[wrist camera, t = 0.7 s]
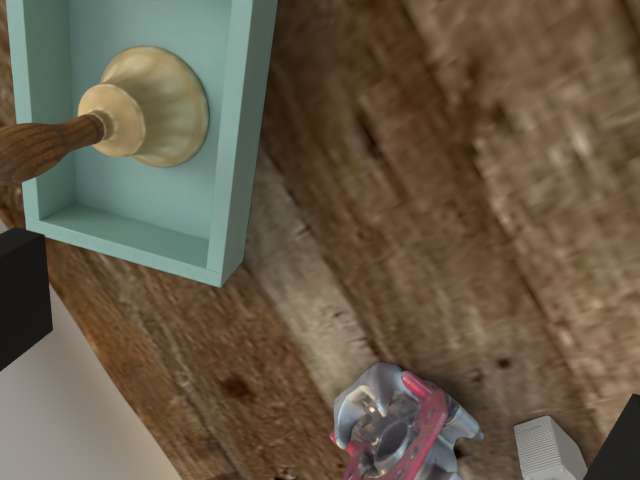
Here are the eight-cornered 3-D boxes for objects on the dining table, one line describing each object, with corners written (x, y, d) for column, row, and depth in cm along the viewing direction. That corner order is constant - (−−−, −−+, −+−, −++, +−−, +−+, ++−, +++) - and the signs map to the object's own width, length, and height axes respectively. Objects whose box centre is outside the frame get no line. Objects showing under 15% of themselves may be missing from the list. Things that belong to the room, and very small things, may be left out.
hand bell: (200, 42, 32) (5, 59, 18) (217, 167, 35) (64, 267, 21) (89, 47, 34) (-169, 67, 19) (115, 165, 37) (-90, 256, 23)
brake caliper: (373, 327, 35) (453, 503, 27) (462, 346, 42) (547, 491, 34) (285, 409, 40) (330, 577, 32) (377, 414, 47) (433, 554, 39)
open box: (52, -80, 31) (-3, -95, 27) (282, -33, 29) (258, -42, 25) (66, 210, 40) (25, 231, 36) (243, 261, 38) (220, 288, 34)
